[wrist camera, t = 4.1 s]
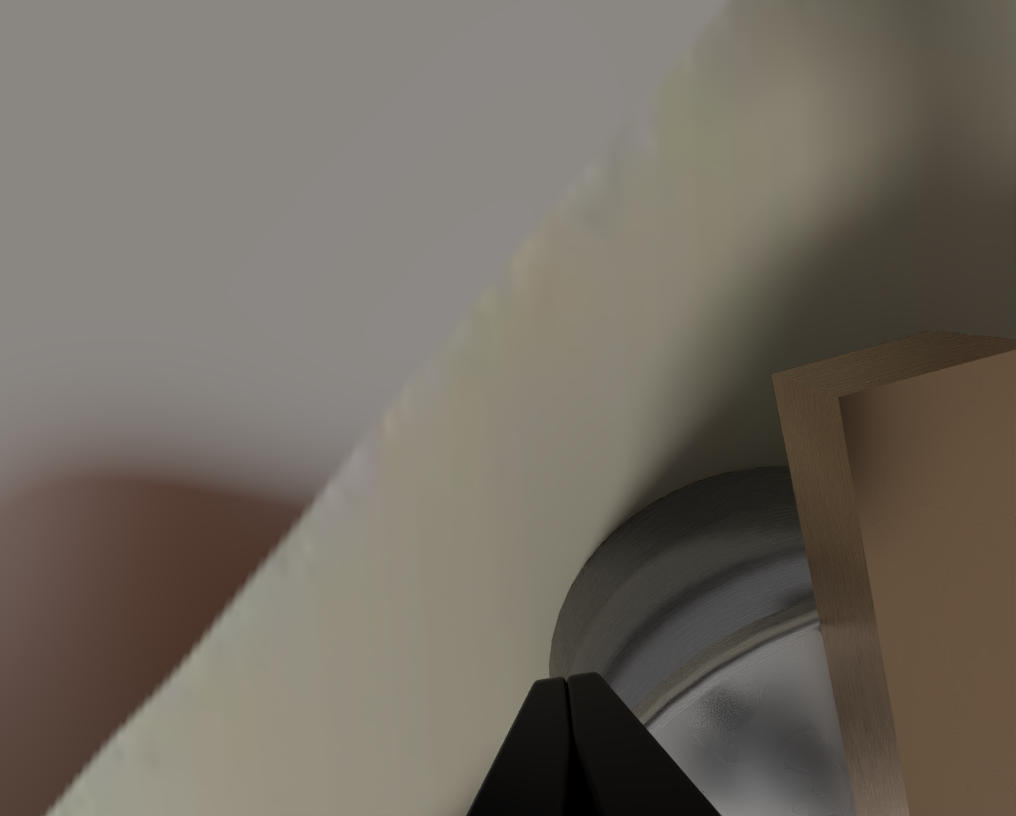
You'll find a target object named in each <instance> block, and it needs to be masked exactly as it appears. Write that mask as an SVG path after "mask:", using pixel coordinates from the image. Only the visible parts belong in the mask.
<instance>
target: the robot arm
mask: <svg viewBox="0 0 1016 816" xmlns="http://www.w3.org/2000/svg"><path fill="white" fill-rule="evenodd" d="M466 816H722V815H721V814H720V813H719V812H718V811H717V810H716V808H715V807H714V806H713V805H712V804H711V803H710V801H709V800H708V799H707V798H706V797H705V796H704V794H703V793H702V792H701V791H700V790H699V789H698V788H697V786H696V785H695V784H694V783H693V782H692V781H691V779H690V778H689V777H688V776H687V775H686V774H685V773H684V771H683V770H682V769H681V768H680V767H679V766H678V764H677V763H676V762H675V761H674V760H673V759H672V758H671V756H670V755H669V754H668V753H667V752H666V751H665V749H664V748H663V747H662V746H661V745H660V744H659V742H658V741H657V740H656V739H655V738H654V737H653V736H652V734H651V733H650V732H649V731H648V730H647V729H646V727H645V726H644V725H643V724H642V723H641V722H640V721H639V719H638V718H637V717H636V716H635V715H634V714H633V712H632V711H631V710H630V709H629V708H628V707H627V705H626V704H625V703H624V702H623V701H622V700H621V699H620V697H619V696H618V695H617V694H616V693H615V692H614V690H613V689H612V688H611V687H610V686H609V685H608V684H607V682H606V681H605V680H604V679H603V678H602V677H601V675H600V674H598V673H597V672H594V671H592V672H585V673H579V674H573V675H570V676H569V677H568V678H567V682H566V680H565V678H563V677H554V678H547V679H541V680H537V681H535V682H534V683H533V685H532V687H531V689H530V691H529V693H528V695H527V697H526V699H525V701H524V703H523V705H522V707H521V709H520V711H519V713H518V715H517V717H516V719H515V721H514V723H513V725H512V727H511V728H510V730H509V732H508V734H507V736H506V738H505V740H504V742H503V744H502V746H501V748H500V750H499V752H498V754H497V756H496V758H495V760H494V762H493V764H492V766H491V768H490V770H489V772H488V774H487V776H486V778H485V780H484V782H483V784H482V786H481V788H480V790H479V791H478V793H477V795H476V797H475V799H474V801H473V803H472V805H471V807H470V809H469V811H468V813H467V815H466Z"/></svg>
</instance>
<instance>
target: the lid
mask: <svg viewBox="0 0 1016 816" xmlns="http://www.w3.org/2000/svg"><path fill="white" fill-rule="evenodd" d="M771 376H772V381H773V386H774V391H775V396H776V401H777V407H778V412H779V417H780V422H781V427H782V432H783V437H784V443H785V448H786V453H787V458H788V463H789V468H790V473H791V478H792V484H793V489H794V494H795V499H796V504H797V509H798V514H799V520H800V525H801V530H802V535H803V540H804V545H805V550H806V555H807V561H808V566H809V571H810V576H811V581H812V586H813V591H814V596H815V597H813V598H809V599H806V600H803V601H801V602H798V603H796V604H794V605H792V606H789V607H787V608H785V609H782V610H780V611H778V612H775V613H773V614H771V615H768V616H766V617H764V618H761V619H759V620H757V621H754V622H752V623H750V624H748V625H747V626H745V627H743V628H741V629H740V630H738V631H736V632H734V633H733V634H731V635H729V636H728V637H726V638H724V639H722V640H721V641H719V642H717V643H715V644H714V645H712V646H710V647H708V648H707V649H705V650H703V651H702V652H701V653H699V654H698V655H696V656H695V657H694V658H692V659H691V660H690V661H688V662H687V663H686V664H684V665H683V666H682V667H680V668H679V669H678V670H676V671H675V672H674V673H672V674H671V675H670V676H668V677H667V678H666V679H664V680H663V681H662V682H660V683H659V684H658V685H657V686H656V687H655V688H654V689H653V690H652V691H651V692H650V693H649V694H648V695H647V696H646V697H645V698H644V699H643V700H641V701H640V702H639V703H638V704H637V705H636V706H635V707H634V708H633V709H632V710H631V711H632V712H633V714H634V715H635V716H636V717H637V718H638V719H639V721H640V722H641V723H642V724H643V725H644V726H645V727H646V729H647V730H648V731H649V732H650V733H651V734H652V736H653V737H654V738H655V739H656V740H657V741H658V742H659V744H660V745H661V746H662V747H663V748H664V749H665V751H666V752H667V753H668V754H669V755H670V756H671V758H672V759H673V760H674V761H675V762H676V763H677V764H678V766H679V767H680V768H681V769H682V770H683V771H684V773H685V774H686V775H687V776H688V777H689V778H690V779H691V781H692V782H693V783H694V784H695V785H696V786H697V788H698V789H699V790H700V791H701V792H702V793H703V794H704V796H705V797H706V798H707V799H708V800H709V801H710V803H711V804H712V805H713V806H714V807H715V808H716V810H717V811H718V812H719V813H720V814H721V815H722V816H1016V340H1015V339H1006V338H996V337H987V336H978V335H968V334H959V333H950V332H940V331H931V330H930V331H927V332H923V333H919V334H916V335H912V336H908V337H905V338H901V339H897V340H894V341H890V342H887V343H883V344H879V345H876V346H872V347H868V348H865V349H861V350H857V351H854V352H850V353H846V354H843V355H839V356H835V357H832V358H828V359H824V360H821V361H817V362H813V363H810V364H806V365H803V366H799V367H795V368H792V369H788V370H784V371H781V372H777V373H773V374H771Z"/></svg>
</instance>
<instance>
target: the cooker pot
mask: <svg viewBox="0 0 1016 816" xmlns="http://www.w3.org/2000/svg"><path fill="white" fill-rule="evenodd" d="M813 597H815V596H814V591H813V586H812V581H811V576H810V571H809V566H808V561H807V555H806V550H805V545H804V540H803V535H802V530H801V525H800V520H799V514H798V509H797V504H796V499H795V494H794V489H793V484H792V478H791V473H790V468H789V466H782V467H759V468H753V469H746V470H740V471H734V472H728V473H725V474H721V475H718V476H714V477H711V478H707V479H704V480H700V481H698V482H695V483H693V484H691V485H688V486H686V487H684V488H681V489H679V490H676V491H674V492H672V493H670V494H668V495H666V496H665V497H663V498H661V499H659V500H658V501H656V502H654V503H652V504H651V505H649V506H647V507H645V508H644V509H643V510H641V511H640V512H639V513H637V514H636V515H635V516H633V517H632V518H631V519H629V520H628V521H627V522H625V523H624V524H623V525H621V526H620V527H619V528H618V529H617V530H616V531H615V532H614V533H613V534H612V535H611V536H610V537H609V538H608V539H607V540H606V541H605V542H604V543H603V544H602V545H601V546H600V547H599V548H598V549H597V551H596V552H595V553H594V554H593V556H592V557H591V558H590V559H589V561H588V562H587V563H586V564H585V566H584V567H583V568H582V570H581V572H580V573H579V575H578V577H577V578H576V580H575V582H574V583H573V585H572V587H571V588H570V590H569V592H568V594H567V597H566V599H565V601H564V604H563V606H562V608H561V611H560V613H559V616H558V619H557V623H556V627H555V630H554V634H553V638H552V644H551V653H550V661H549V675H550V678H554V677H563V678H565V680H566V682H567V678H568V677H569V676H570V675H573V674H579V673H585V672H592V671H594V672H597V673H598V674H600V675H601V677H602V678H603V679H604V680H605V681H606V682H607V684H608V685H609V686H610V687H611V688H612V689H613V690H614V692H615V693H616V694H617V695H618V696H619V697H620V699H621V700H622V701H623V702H624V703H625V704H626V705H627V707H628V708H629V709H630V710H632V709H633V708H634V707H635V706H636V705H637V704H638V703H639V702H640V701H641V700H643V699H644V698H645V697H646V696H647V695H648V694H649V693H650V692H651V691H652V690H653V689H654V688H655V687H656V686H657V685H658V684H659V683H660V682H662V681H663V680H664V679H666V678H667V677H668V676H670V675H671V674H672V673H674V672H675V671H676V670H678V669H679V668H680V667H682V666H683V665H684V664H686V663H687V662H688V661H690V660H691V659H692V658H694V657H695V656H696V655H698V654H699V653H701V652H702V651H703V650H705V649H707V648H708V647H710V646H712V645H714V644H715V643H717V642H719V641H721V640H722V639H724V638H726V637H728V636H729V635H731V634H733V633H734V632H736V631H738V630H740V629H741V628H743V627H745V626H747V625H748V624H750V623H752V622H754V621H757V620H759V619H761V618H764V617H766V616H768V615H771V614H773V613H775V612H778V611H780V610H782V609H785V608H787V607H789V606H792V605H794V604H796V603H798V602H801V601H803V600H806V599H809V598H813Z"/></svg>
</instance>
